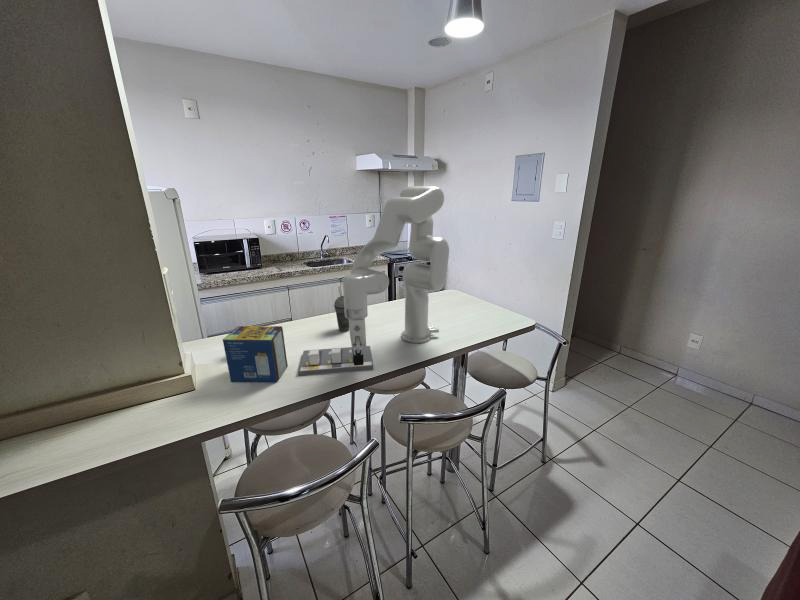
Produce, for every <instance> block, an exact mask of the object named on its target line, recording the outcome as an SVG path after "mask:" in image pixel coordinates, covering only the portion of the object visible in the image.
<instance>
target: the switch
mask: <svg viewBox="0 0 800 600" xmlns="http://www.w3.org/2000/svg"><path fill="white" fill-rule="evenodd" d="M310 350H311V351H310V353H309V359H310V365H317V364H319V361H320V358H319V349H310Z"/></svg>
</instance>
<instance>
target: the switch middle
mask: <svg viewBox="0 0 800 600" xmlns="http://www.w3.org/2000/svg"><path fill="white" fill-rule="evenodd" d="M337 348H338V349H332V348H331V349H332V363H341V348H342V347H337Z"/></svg>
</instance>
